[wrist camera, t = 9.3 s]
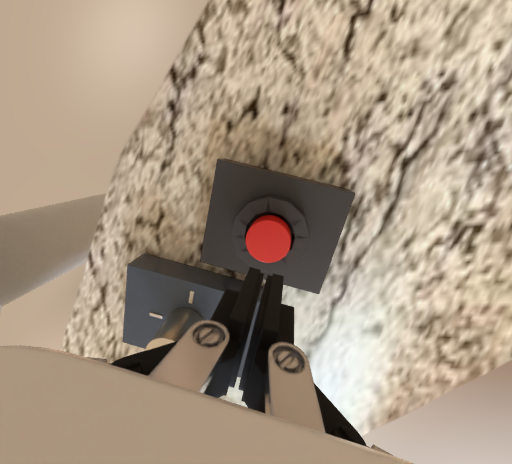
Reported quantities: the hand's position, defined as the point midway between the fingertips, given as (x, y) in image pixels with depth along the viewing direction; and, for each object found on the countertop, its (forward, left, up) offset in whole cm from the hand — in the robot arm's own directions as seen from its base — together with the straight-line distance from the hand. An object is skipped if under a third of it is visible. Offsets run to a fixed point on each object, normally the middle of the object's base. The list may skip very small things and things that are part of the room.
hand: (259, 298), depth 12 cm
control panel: (-6, -12, -14) cm, 19 cm away
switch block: (0, 0, -14) cm, 14 cm away
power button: (0, 0, -10) cm, 10 cm away
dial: (-6, -12, -10) cm, 17 cm away
